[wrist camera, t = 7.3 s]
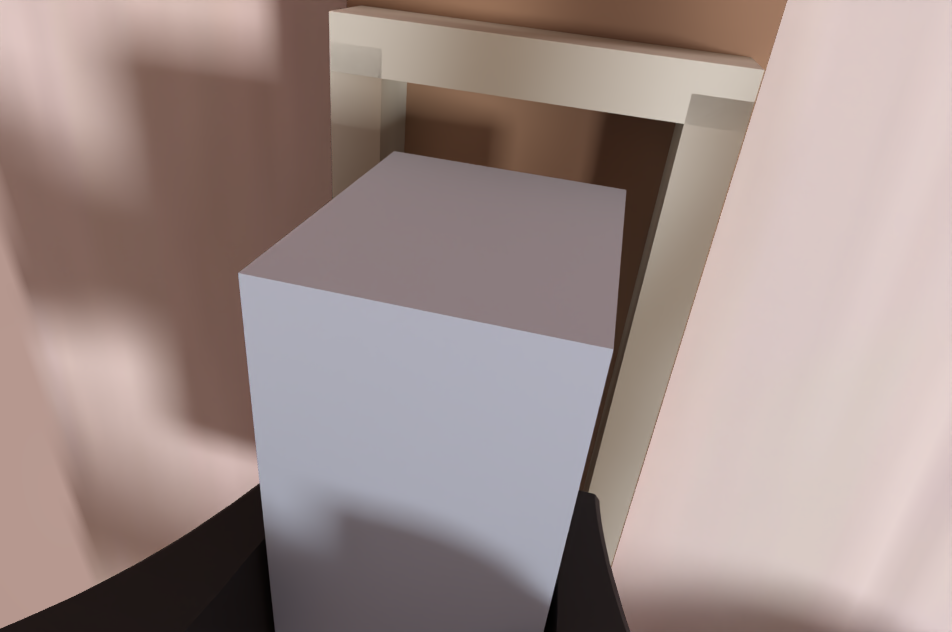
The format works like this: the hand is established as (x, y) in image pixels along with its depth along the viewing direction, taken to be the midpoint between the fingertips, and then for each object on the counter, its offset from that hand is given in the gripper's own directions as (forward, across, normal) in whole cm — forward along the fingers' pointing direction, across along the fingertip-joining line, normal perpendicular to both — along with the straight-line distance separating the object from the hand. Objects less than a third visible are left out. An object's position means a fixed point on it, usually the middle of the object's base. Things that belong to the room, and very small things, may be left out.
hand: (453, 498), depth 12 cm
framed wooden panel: (+5, 0, 0) cm, 5 cm away
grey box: (+2, 0, 0) cm, 2 cm away
